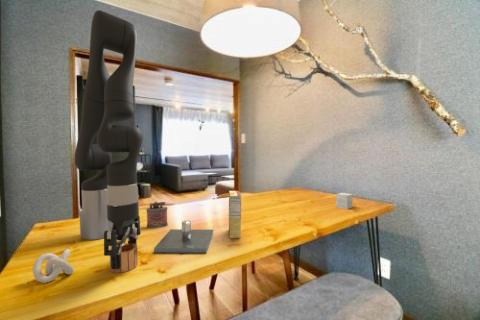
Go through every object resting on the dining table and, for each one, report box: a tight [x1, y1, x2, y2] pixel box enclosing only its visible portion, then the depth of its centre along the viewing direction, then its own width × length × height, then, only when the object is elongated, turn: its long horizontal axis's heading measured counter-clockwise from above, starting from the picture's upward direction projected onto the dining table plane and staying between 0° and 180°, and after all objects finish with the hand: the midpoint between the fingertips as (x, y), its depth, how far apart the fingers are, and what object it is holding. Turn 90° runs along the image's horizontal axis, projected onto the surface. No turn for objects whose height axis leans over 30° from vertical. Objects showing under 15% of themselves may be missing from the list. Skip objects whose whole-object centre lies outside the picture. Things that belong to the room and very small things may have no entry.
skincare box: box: [335, 192, 354, 210], centre depth 123 cm, size 6×6×7 cm
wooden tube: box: [109, 242, 139, 274], centre depth 62 cm, size 7×7×5 cm
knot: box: [32, 248, 75, 284], centre depth 57 cm, size 8×8×6 cm
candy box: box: [228, 190, 242, 239], centre depth 85 cm, size 9×4×15 cm, turn 6°
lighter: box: [146, 201, 169, 229], centre depth 94 cm, size 8×3×10 cm, turn 105°
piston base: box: [153, 220, 214, 254], centre depth 78 cm, size 16×16×7 cm
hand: (124, 260), depth 62 cm, fingers open, 8 cm apart
